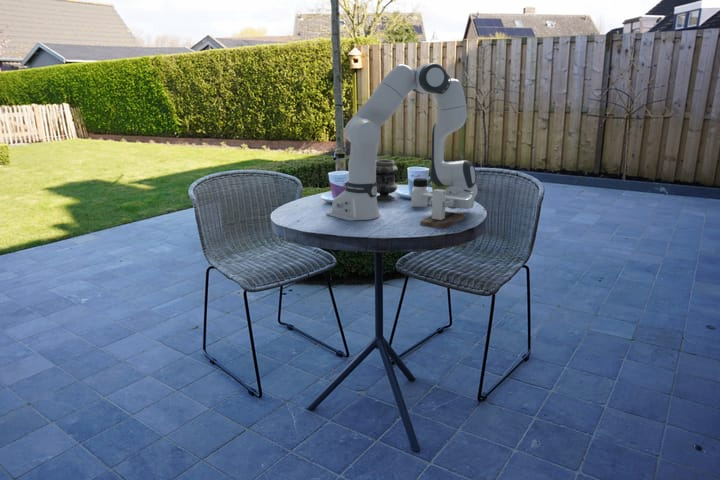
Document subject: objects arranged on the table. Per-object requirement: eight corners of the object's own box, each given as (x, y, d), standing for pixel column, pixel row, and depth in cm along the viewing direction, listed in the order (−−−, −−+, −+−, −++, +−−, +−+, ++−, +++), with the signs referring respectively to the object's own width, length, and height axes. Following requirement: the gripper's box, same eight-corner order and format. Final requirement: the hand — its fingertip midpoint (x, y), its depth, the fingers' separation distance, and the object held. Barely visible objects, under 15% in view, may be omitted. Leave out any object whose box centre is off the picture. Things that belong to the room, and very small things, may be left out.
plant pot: (450, 204, 223) (451, 184, 221) (429, 203, 225) (429, 184, 222) (450, 199, 232) (451, 181, 229) (430, 198, 234) (431, 180, 231)
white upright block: (431, 218, 191) (432, 190, 187) (435, 216, 193) (436, 188, 190) (441, 220, 188) (442, 191, 185) (444, 218, 191) (446, 190, 188)
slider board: (420, 224, 190) (420, 220, 190) (442, 214, 205) (442, 210, 205) (444, 228, 185) (444, 224, 184) (465, 217, 200) (465, 213, 199)
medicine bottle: (427, 207, 217) (428, 180, 214) (411, 206, 219) (411, 179, 215) (428, 203, 224) (428, 177, 221) (412, 203, 225) (412, 176, 222)
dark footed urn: (397, 201, 228) (397, 162, 223) (370, 201, 229) (370, 162, 223) (397, 196, 239) (397, 158, 234) (372, 196, 240) (372, 158, 235)
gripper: (430, 186, 204) (414, 192, 193) (478, 192, 192) (462, 198, 182) (430, 201, 206) (413, 208, 195) (477, 208, 194) (462, 215, 184)
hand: (437, 203), depth 188 cm, fingers closed on white upright block, 4 cm apart
